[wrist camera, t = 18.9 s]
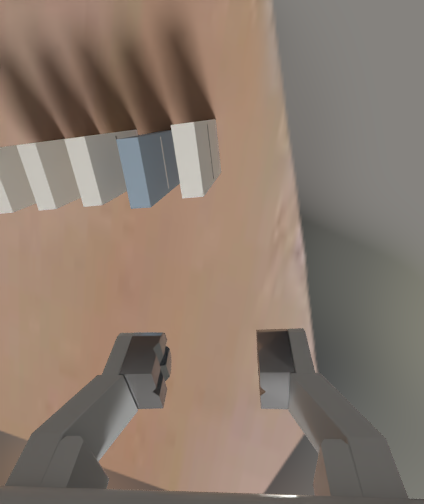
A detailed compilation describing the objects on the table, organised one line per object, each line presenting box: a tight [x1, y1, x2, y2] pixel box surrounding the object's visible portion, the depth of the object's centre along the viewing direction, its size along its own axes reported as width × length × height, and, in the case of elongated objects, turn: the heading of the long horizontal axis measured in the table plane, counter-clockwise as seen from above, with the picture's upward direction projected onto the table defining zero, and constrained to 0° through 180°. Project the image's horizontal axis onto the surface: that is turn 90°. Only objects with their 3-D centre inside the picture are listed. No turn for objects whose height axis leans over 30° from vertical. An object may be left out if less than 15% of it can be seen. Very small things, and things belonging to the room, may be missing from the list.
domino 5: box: [171, 119, 221, 198], centre depth 26 cm, size 2×5×10 cm, turn 7°
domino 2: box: [16, 134, 99, 210], centre depth 28 cm, size 2×5×10 cm, turn 7°
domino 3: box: [64, 129, 138, 207], centre depth 28 cm, size 2×5×10 cm, turn 7°
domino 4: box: [116, 130, 180, 209], centre depth 27 cm, size 2×5×10 cm, turn 6°
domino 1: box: [0, 139, 60, 214], centre depth 29 cm, size 2×5×10 cm, turn 7°
